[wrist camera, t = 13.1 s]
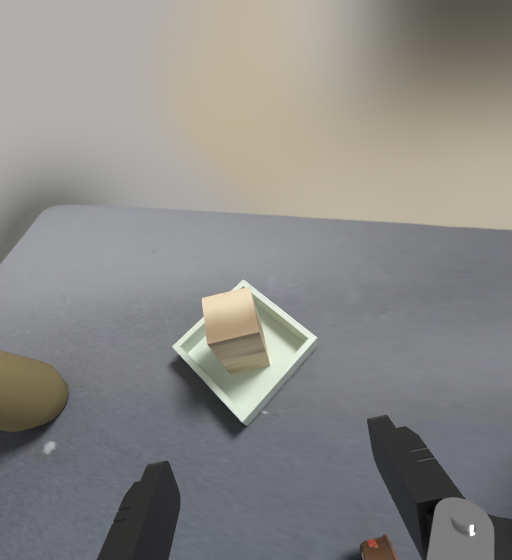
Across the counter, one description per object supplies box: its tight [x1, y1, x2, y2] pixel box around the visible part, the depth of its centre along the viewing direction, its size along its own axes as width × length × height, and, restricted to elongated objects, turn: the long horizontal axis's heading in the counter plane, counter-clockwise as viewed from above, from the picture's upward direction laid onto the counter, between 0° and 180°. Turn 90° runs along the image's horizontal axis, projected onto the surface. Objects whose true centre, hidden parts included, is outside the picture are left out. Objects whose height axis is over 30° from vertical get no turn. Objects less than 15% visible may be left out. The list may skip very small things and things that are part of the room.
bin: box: [172, 280, 317, 426], centre depth 39 cm, size 12×12×4 cm
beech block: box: [202, 287, 270, 374], centre depth 35 cm, size 5×5×11 cm
